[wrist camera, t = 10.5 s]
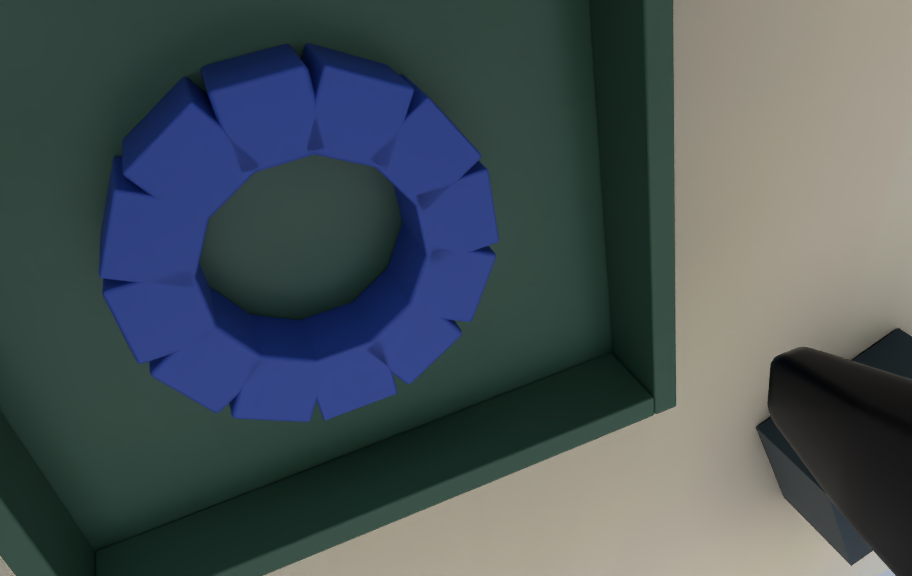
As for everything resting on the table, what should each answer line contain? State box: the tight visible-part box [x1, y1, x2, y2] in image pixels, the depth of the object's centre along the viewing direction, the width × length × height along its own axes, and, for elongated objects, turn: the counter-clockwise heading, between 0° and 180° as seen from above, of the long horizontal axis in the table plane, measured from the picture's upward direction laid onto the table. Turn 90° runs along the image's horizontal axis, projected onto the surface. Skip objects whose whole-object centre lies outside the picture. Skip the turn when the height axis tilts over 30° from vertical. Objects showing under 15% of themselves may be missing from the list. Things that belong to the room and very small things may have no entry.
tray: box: [0, 0, 676, 576], centre depth 15 cm, size 14×13×2 cm
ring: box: [99, 43, 499, 422], centre depth 15 cm, size 7×7×2 cm
